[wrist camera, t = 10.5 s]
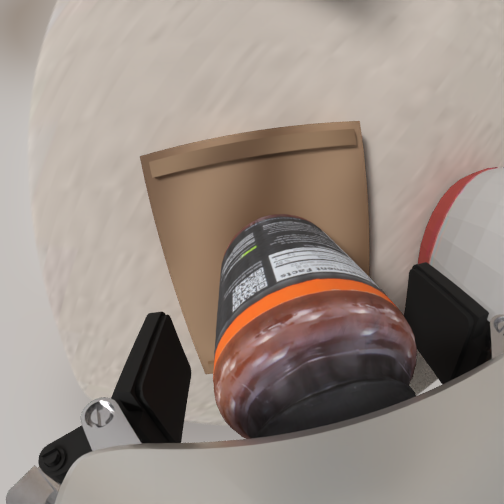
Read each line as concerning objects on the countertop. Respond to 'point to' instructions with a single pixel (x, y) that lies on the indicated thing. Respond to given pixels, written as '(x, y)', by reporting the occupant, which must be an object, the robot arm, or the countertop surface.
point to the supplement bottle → (303, 333)
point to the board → (252, 203)
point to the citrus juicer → (470, 238)
